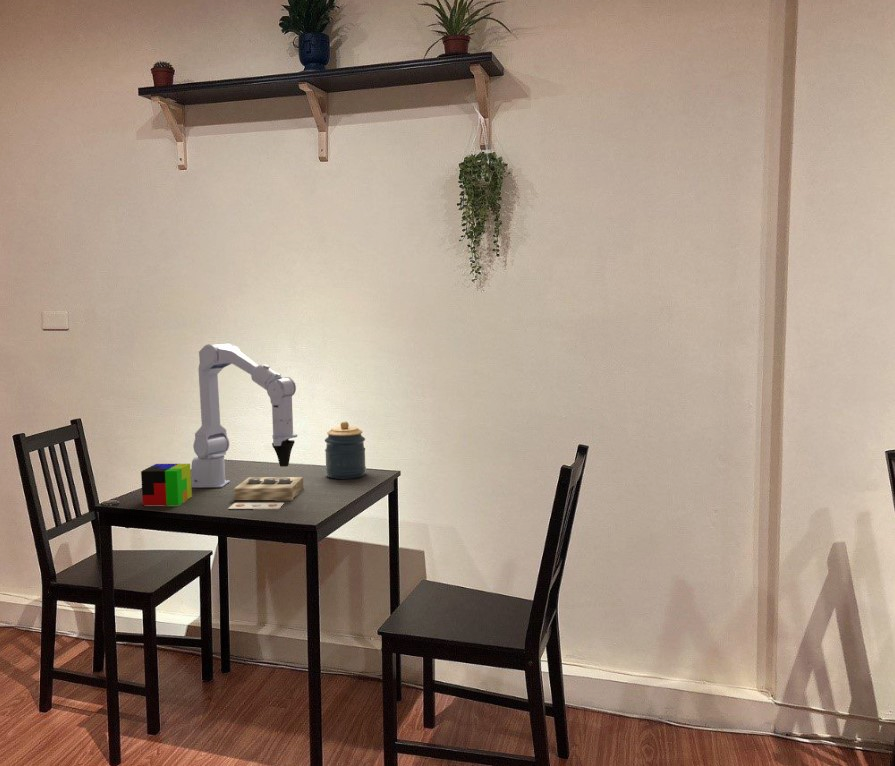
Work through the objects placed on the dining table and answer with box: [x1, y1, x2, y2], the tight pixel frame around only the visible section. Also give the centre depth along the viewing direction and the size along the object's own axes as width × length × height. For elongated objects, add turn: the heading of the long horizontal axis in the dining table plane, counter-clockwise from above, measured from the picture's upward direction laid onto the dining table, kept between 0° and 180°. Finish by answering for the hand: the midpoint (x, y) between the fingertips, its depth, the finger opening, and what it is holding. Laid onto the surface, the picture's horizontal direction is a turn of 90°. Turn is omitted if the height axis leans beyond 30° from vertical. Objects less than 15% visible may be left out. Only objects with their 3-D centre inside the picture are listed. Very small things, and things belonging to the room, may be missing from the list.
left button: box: [249, 478, 260, 484], centre depth 221 cm, size 3×3×2 cm
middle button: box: [264, 478, 275, 484], centre depth 221 cm, size 3×3×2 cm
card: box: [227, 502, 285, 510], centre depth 208 cm, size 14×6×1 cm, turn 88°
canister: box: [324, 420, 367, 480], centre depth 245 cm, size 13×13×18 cm
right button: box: [279, 478, 290, 484], centre depth 221 cm, size 3×3×2 cm
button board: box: [233, 476, 304, 501], centre depth 221 cm, size 16×14×4 cm
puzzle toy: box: [140, 463, 193, 506], centre depth 214 cm, size 10×10×10 cm
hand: (284, 466), depth 220 cm, fingers closed
